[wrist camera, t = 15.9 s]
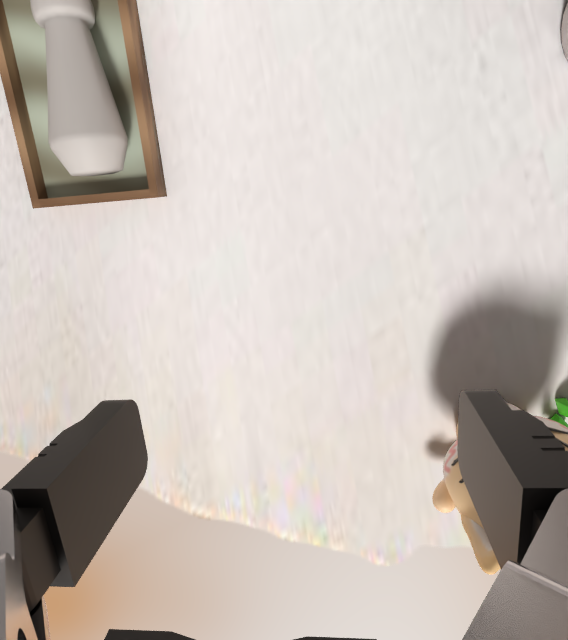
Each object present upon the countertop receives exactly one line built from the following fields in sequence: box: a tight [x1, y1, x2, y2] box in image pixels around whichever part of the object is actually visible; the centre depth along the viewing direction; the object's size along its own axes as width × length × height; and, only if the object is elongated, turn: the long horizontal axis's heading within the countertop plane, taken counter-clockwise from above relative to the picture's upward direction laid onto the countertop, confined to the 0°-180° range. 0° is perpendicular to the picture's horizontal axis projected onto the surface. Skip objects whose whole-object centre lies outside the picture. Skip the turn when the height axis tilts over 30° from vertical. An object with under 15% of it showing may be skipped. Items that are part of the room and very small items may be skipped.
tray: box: [0, 0, 167, 208], centre depth 37 cm, size 18×11×2 cm, turn 5°
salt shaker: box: [30, 0, 128, 176], centre depth 35 cm, size 6×6×13 cm
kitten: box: [433, 398, 568, 575], centre depth 36 cm, size 15×10×15 cm, turn 110°
